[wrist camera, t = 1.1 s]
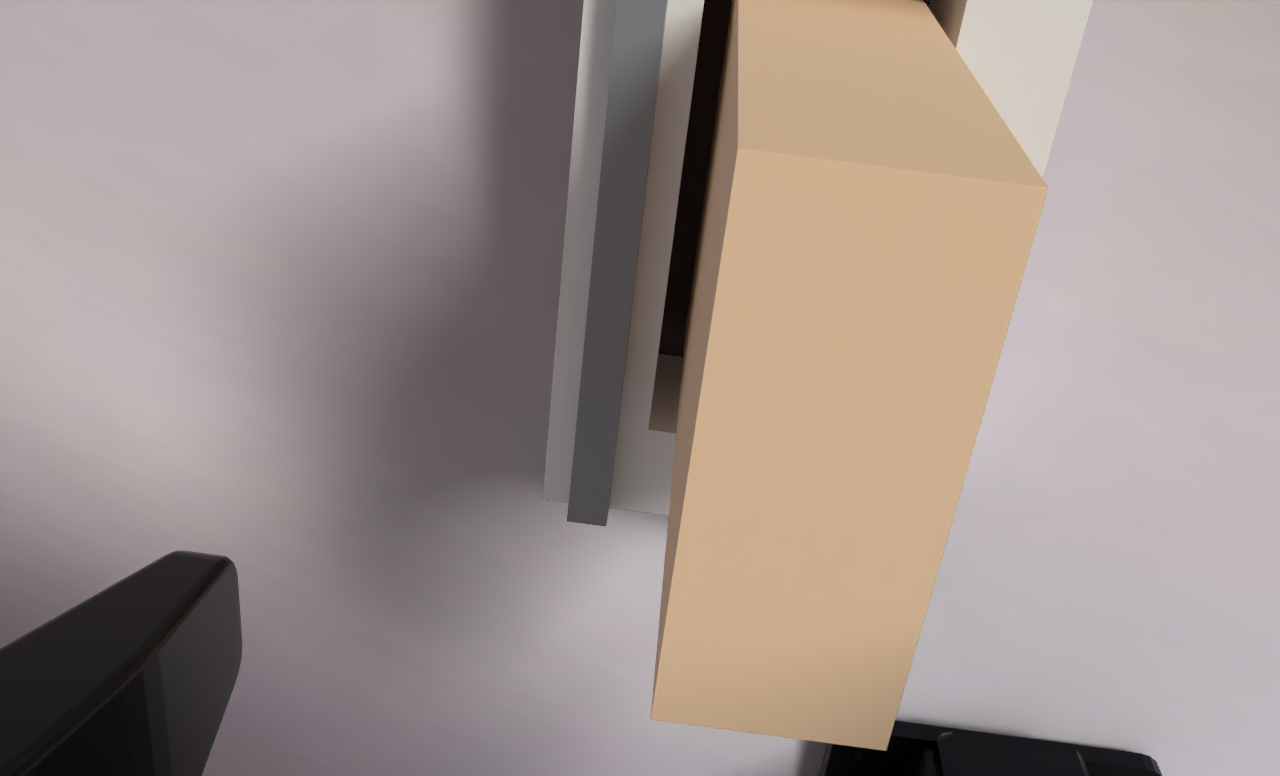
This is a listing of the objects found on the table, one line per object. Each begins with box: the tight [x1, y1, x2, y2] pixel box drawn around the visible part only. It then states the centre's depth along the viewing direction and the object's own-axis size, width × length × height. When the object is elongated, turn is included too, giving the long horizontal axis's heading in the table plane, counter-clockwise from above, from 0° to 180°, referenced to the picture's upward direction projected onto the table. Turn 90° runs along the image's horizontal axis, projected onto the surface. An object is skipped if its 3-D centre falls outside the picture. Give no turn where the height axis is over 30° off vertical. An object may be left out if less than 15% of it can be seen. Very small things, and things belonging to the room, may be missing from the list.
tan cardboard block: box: [651, 0, 1048, 751], centre depth 15 cm, size 6×2×9 cm, turn 174°
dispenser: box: [543, 0, 1093, 526], centre depth 17 cm, size 10×6×3 cm, turn 174°
